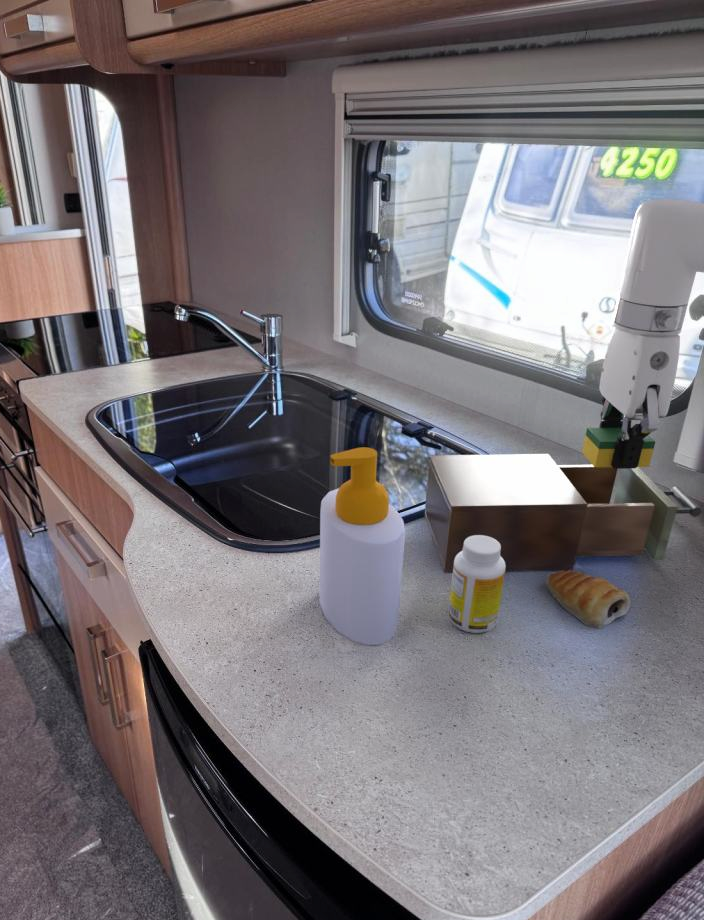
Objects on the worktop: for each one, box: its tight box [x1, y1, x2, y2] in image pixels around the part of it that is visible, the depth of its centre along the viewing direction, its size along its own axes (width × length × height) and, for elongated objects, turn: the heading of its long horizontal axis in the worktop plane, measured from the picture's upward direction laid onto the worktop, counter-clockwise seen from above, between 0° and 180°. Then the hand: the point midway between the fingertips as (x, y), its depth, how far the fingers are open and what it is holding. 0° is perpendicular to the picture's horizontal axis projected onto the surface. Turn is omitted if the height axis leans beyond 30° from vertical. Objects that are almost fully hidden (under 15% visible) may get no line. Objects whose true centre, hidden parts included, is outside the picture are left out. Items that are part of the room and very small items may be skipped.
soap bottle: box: [318, 446, 406, 646], centre depth 79 cm, size 13×8×20 cm, turn 20°
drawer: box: [557, 464, 702, 561], centre depth 96 cm, size 21×13×8 cm, turn 93°
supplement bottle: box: [448, 535, 506, 634], centre depth 80 cm, size 6×6×10 cm
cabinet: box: [423, 453, 587, 574], centre depth 96 cm, size 17×15×10 cm
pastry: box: [547, 570, 631, 629], centre depth 85 cm, size 9×7×4 cm
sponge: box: [581, 427, 656, 468], centre depth 92 cm, size 7×4×4 cm, turn 93°
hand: (615, 457), depth 93 cm, fingers closed on sponge, 4 cm apart
